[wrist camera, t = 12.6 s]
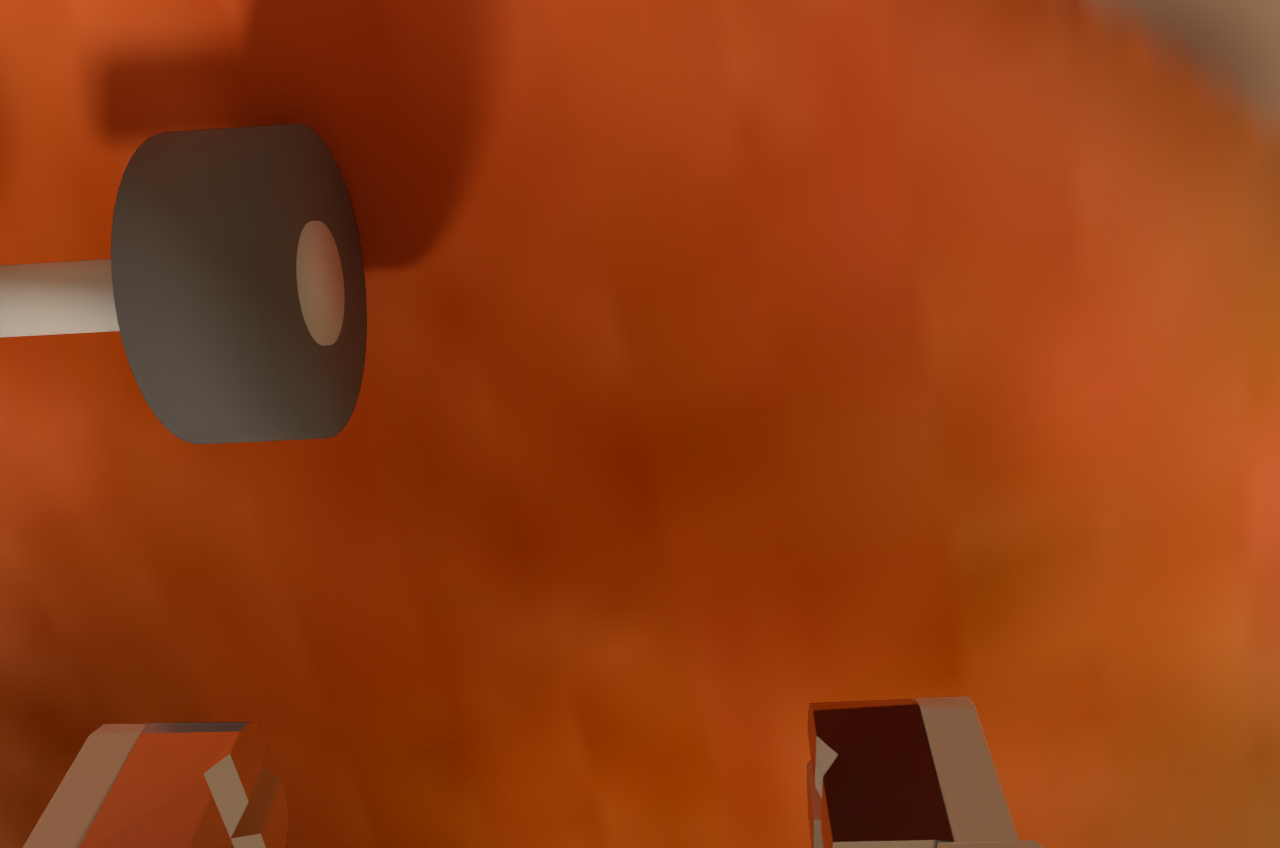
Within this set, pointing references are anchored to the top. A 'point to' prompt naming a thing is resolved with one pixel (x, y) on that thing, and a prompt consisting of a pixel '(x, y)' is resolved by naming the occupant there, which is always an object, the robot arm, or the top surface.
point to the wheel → (221, 285)
